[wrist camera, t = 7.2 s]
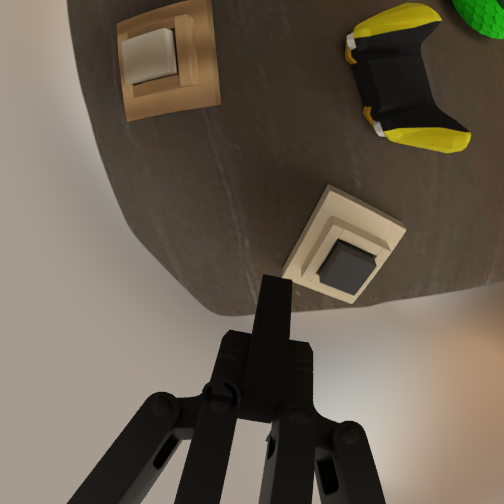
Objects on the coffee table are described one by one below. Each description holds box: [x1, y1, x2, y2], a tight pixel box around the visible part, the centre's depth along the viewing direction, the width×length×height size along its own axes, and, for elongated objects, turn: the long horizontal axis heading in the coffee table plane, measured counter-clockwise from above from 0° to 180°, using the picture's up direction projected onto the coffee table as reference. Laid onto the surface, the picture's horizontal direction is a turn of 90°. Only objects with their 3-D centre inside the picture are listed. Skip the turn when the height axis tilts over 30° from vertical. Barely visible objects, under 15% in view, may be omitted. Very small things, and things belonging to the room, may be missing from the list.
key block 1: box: [117, 0, 221, 122], centre depth 21 cm, size 12×10×4 cm
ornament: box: [452, 0, 504, 39], centre depth 8 cm, size 8×8×10 cm
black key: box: [319, 240, 377, 296], centre depth 28 cm, size 4×4×2 cm
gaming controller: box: [345, 3, 471, 153], centre depth 18 cm, size 15×6×10 cm
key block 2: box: [282, 184, 406, 304], centre depth 30 cm, size 12×10×4 cm
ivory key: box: [122, 28, 178, 84], centre depth 19 cm, size 4×4×2 cm
